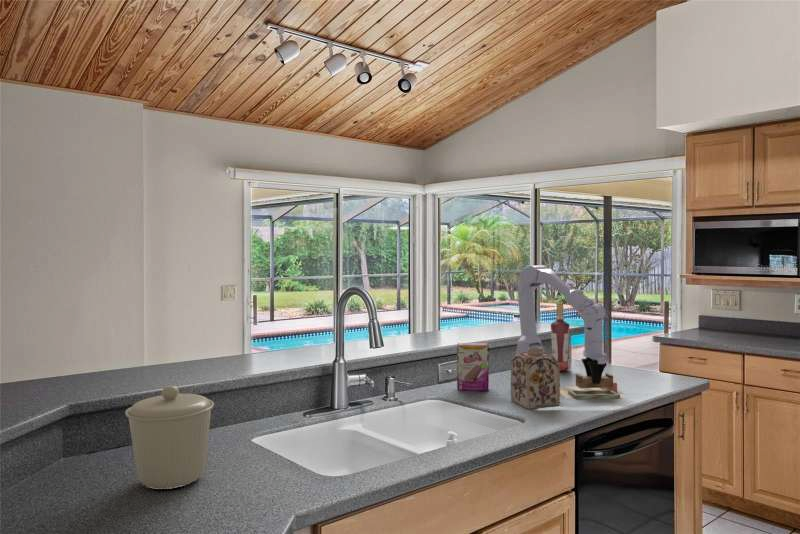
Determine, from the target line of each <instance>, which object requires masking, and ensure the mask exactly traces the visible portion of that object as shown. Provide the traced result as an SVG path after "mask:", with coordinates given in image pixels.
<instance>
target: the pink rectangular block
mask: <svg viewBox="0 0 800 534" xmlns="http://www.w3.org/2000/svg"><path fill="white" fill-rule="evenodd" d="M601 389H603V390H610V389H611V390H613V391H614V392H617V391H618V383H617V382H616V381H614V380H613V387H607V388H601Z"/></svg>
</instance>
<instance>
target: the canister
mask: <svg viewBox="0 0 800 534" xmlns="http://www.w3.org/2000/svg"><path fill="white" fill-rule="evenodd" d="M214 406H215V402H214V401H213V400H212V399H209V398H207V397H206V396H204V395H200V394H196V393H180V389H179V388H178V387H177V386H176V385H166V386H165V387H163V389H161V395H157V396H152V397H148V398H144V399H141V400H139V401H137V402H135V403H134V404H132V406H130V407H128V408H127V409H126V410H125V411H124V414H125V416H126V417H127V418H128V422H129V430H130V434H131V435H130V436H131V444H132V451H133V455H134V463H135V467H136V473H137V478H138V480H139V482H140V484H141V485H142V486H144V485H145V486H147V487H153V488H167V487H175V486H180V485H185V484H188V483H190V482H193V481H195V480H197V479H198V478H199V479H200V478H201V477H202V476H203V474H204V471H205V468H206V463H207V457H208V448H209V446H208V445H209V435H210V428H211V427H210V424H211V415H212V414H211V413H212V409H213V408H214ZM199 479H198V480H199ZM198 480H197V481H198ZM145 486H144V487H145ZM147 487H146V488H147Z"/></svg>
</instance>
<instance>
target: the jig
mask: <svg viewBox="0 0 800 534" xmlns="http://www.w3.org/2000/svg"><path fill="white" fill-rule="evenodd" d="M561 395H562V397H564V398H565V399H566V400H590V399H591V400H599V399H601V400H602V399H629V397H628V396H626V395H624V394H623V393H622V392H620V391H618V390H617V392H614V391H613V390H611V389H610V390H603V389H601V388H579V387H577V386H560V396H561Z"/></svg>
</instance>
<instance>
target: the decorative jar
mask: <svg viewBox="0 0 800 534" xmlns="http://www.w3.org/2000/svg"><path fill="white" fill-rule="evenodd" d="M559 367H560V366H559V364H558V362H557V360H556V359H555V357H554V356H553V355H552V353H551V354H550V353H547V352H545V351H544V352H542V348H539V347H532V348H528V349H527V352H522V353H519V354H517V355H516V354H515V356H514V357H513V358H512V360H511V361H510V397H511V398H510V401H511V402H513V403H515V404H517V405H520V406H521V407H523V408H525V409H527V410H533V409H543V408H545V409H546V408H553V407H556V408H557V407H560V405H559V404H560V403H561V394H560V387H561V383H560V381H561V379H560V376H561V375H560V373H561V372H560V368H559ZM547 404H548V405H547ZM550 404H554V405H550ZM555 404H558V405H555Z"/></svg>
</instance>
